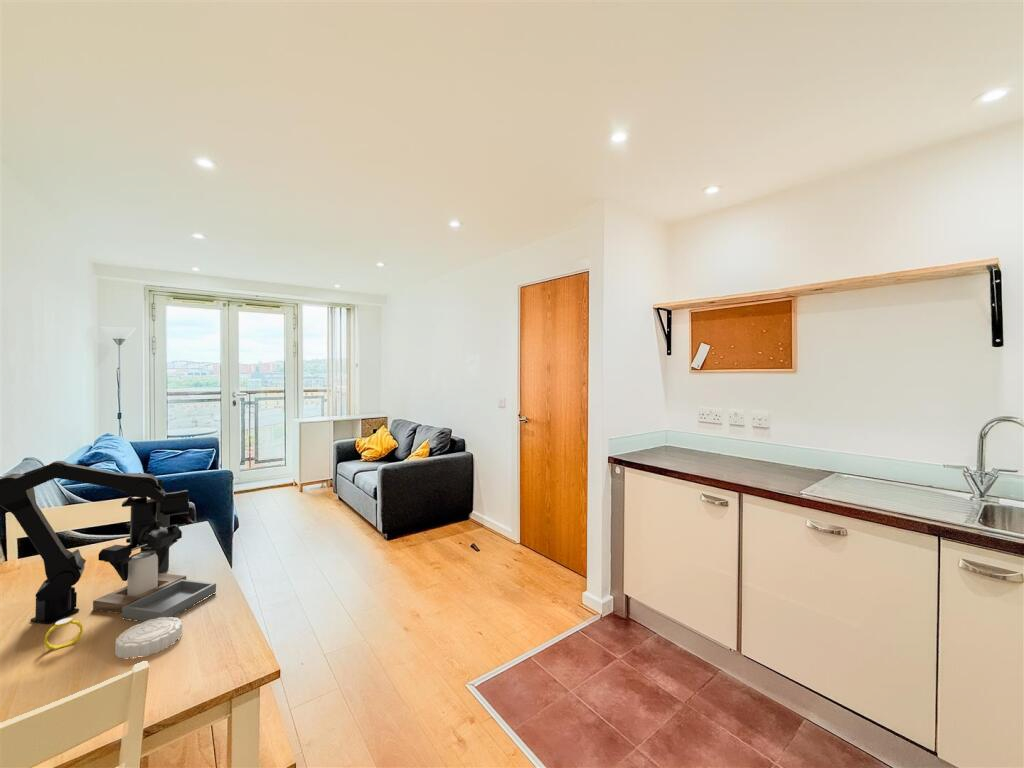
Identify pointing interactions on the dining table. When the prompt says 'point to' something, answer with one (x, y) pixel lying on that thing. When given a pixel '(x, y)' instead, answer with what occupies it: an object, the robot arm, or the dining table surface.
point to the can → (142, 573)
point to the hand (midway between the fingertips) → (142, 573)
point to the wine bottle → (164, 523)
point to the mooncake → (148, 637)
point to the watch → (61, 624)
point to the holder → (121, 598)
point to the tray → (168, 600)
